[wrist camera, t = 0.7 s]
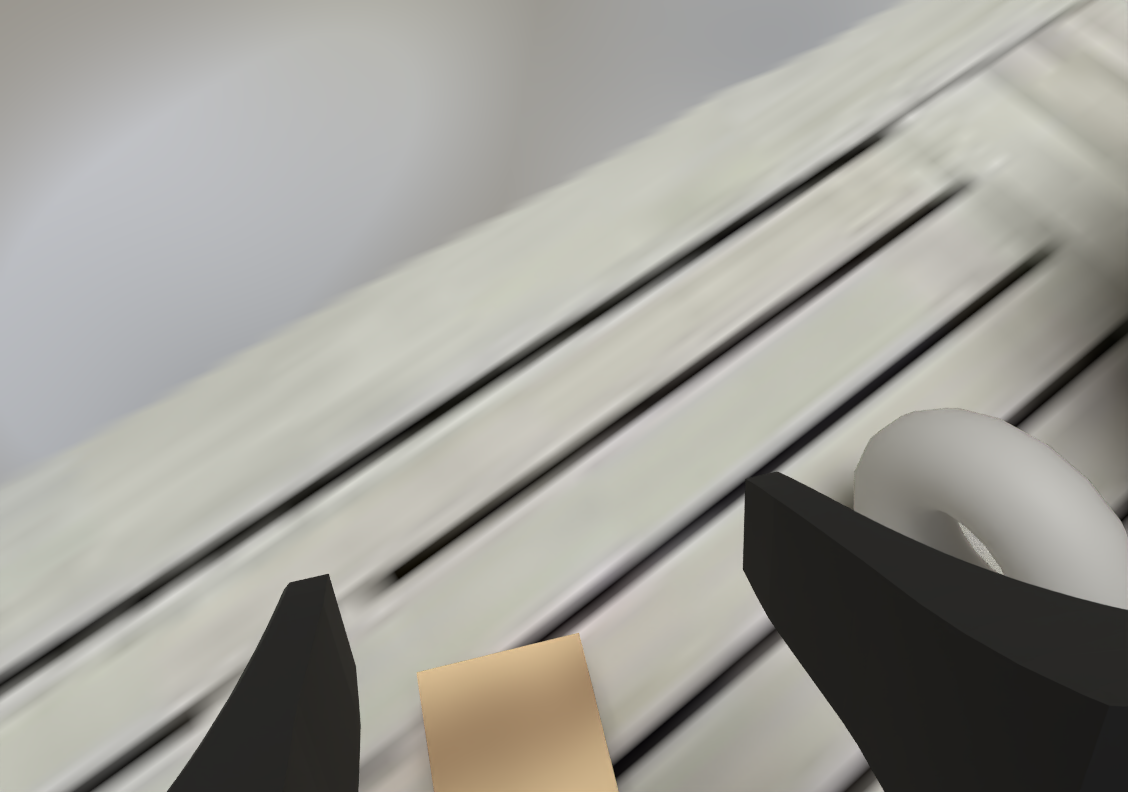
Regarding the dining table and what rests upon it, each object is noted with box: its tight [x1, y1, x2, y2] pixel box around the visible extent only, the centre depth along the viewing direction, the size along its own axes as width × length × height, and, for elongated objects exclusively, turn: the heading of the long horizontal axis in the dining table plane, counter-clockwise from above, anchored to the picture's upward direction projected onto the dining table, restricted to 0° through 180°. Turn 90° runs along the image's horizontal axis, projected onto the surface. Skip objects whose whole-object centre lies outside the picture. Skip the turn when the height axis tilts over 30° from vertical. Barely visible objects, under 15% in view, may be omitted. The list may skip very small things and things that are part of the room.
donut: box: [854, 408, 1128, 610], centre depth 26 cm, size 10×4×10 cm, turn 29°
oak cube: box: [417, 633, 618, 792], centre depth 25 cm, size 5×5×5 cm
